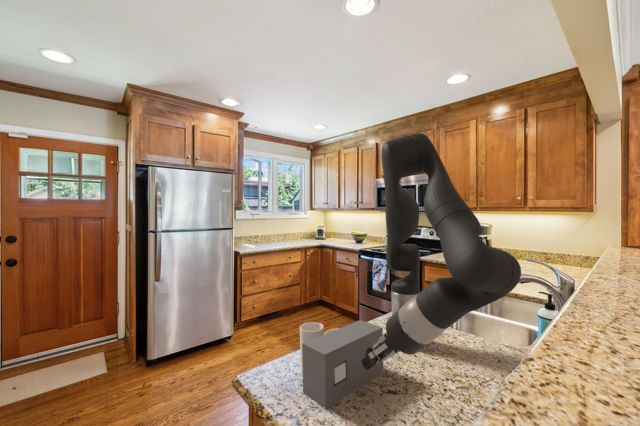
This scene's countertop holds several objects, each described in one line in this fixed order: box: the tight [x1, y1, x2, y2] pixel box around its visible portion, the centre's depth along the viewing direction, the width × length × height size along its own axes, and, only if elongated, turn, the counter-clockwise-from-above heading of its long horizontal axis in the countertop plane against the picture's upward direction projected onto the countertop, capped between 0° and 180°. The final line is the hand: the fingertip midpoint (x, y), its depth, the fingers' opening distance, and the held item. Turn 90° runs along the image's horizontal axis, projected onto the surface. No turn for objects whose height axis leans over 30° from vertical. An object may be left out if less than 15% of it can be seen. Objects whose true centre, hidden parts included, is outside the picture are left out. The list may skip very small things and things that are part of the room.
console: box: [302, 319, 384, 409], centre depth 73 cm, size 22×8×12 cm, turn 132°
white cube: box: [333, 362, 346, 384], centre depth 68 cm, size 4×4×4 cm
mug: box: [299, 321, 325, 373], centre depth 81 cm, size 10×7×12 cm, turn 24°
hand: (365, 364), depth 61 cm, fingers closed
